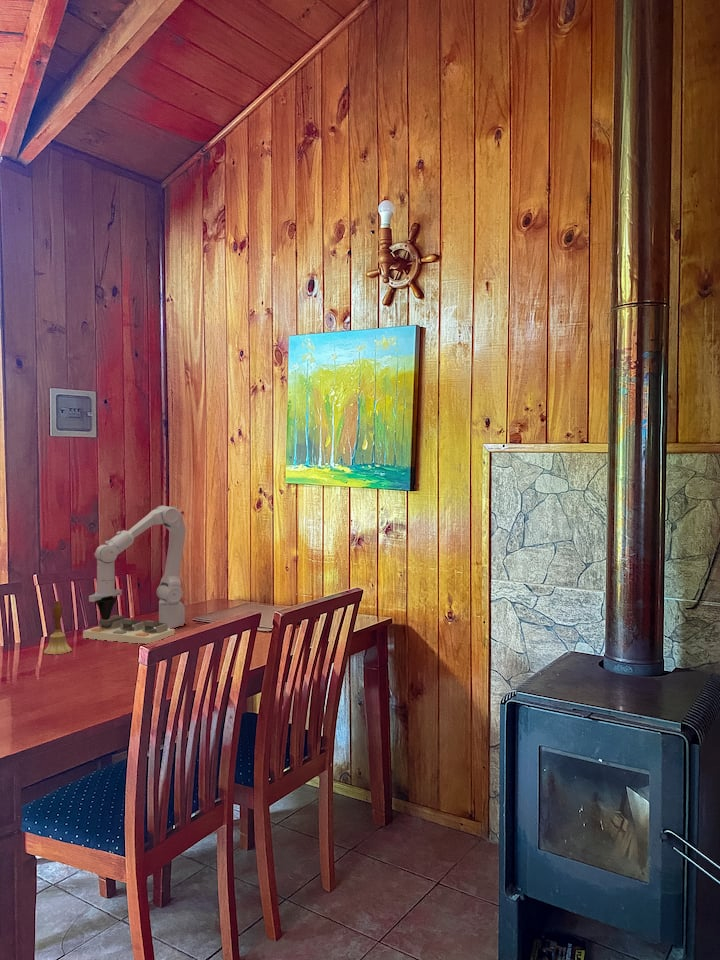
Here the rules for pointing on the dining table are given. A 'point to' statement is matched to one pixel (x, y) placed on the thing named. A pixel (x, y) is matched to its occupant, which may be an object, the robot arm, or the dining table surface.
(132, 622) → the rocker middle
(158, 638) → the switch panel
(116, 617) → the rocker
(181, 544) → the robot arm
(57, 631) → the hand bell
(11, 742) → the dining table surface
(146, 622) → the block
